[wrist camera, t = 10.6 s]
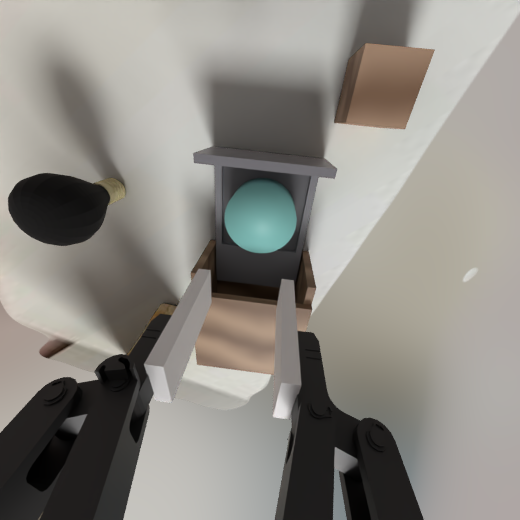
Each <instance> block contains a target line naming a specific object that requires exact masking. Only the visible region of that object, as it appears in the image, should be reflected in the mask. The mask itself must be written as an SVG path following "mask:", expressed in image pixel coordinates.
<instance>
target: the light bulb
mask: <svg viewBox="0 0 520 520" xmlns="http://www.w3.org/2000/svg"><path fill="white" fill-rule="evenodd" d="M125 194H126V192H125V188H124V186H123V184H121V183H120V182H119V181H118V180H116V179H113V178H108V179H105V180H102V181H99V182H96V183H93V184H92V183H89V182H87V181H84V180H81V179H78V178H75V177H71V176H65V175H58V174H51V173H43V174H38V175H35V176H32V177H29V178H26V179H23V180H21V181H20V182H18V183H17V184H16V185H15V187H14V188H13V190H12V192H11V193H10V195H9V197H8V206H9V212H10V214H11V216H12V218H13V220H14V222H15V223H16V224H17V225H18V227H19V228H20V229H21V230H22V231H24V232H25V233H26V234H28V235H29V236H30V237H32V238H34V239H36V240H39V241H41V242H43V243H47V244H52V245H59V246H67V245H72V244H76V243H80V242H83V241H86V240H88V239H89V238H90V237H92V236H93V235H94V233H95V232H96V231H97V230H98V229H99V228H100V227H101V225H102V223H103V221H104V218H105V214H106V210H107V206H108V205H110V204H112V203H113V202H116V201H118V200H120V199H122V198H124V197H125Z"/></svg>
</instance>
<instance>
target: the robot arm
mask: <svg viewBox="0 0 520 520" xmlns="http://www.w3.org/2000/svg"><path fill="white" fill-rule="evenodd" d="M211 302H212V300H211V271H210V270H206V269H198V271H197V272H196V274H195V276H194V278H193V279H192V281H191V283H190V285H189V286H188V288H187V290H186V292H185V293H184V295H183V297H182V299H181V300H180V302H179V304H178V306H177V307H176V309H175V311H174V313H173V314H172V315H167V314H159V315H158V316H156V317H155V318H154V319H153V320H151V322H150V323H149V325H148V326H147V328H146V330H145V331H144V333H143V334H142V336H141V338H140V339H139V340H138V342H137V343H136V345H135V346H134V348H133V349H132V351H131V352H130V354H129V355H123V354H119V355H115V356H112V357H110V358H108V359H106V360H105V361H103V362H102V363H101V364H100V365H99V366H98V367H97V369H96V370H95V371H94V372H95V374H96V376H97V377H98V379H99V380H94V381H88V382H82V383H77V382H76V380H75V379H73V378H71V377H63V378H60V379H57V380H54V381H52V382H51V383H49V384H47V385H45V386H44V387H43V388H42V389H41V390H40V391H38V392H37V394H36V395H35V396H34V397H33V398H32V399H31V400H30V401H29V402H28V403H27V405H26V406H25V407H24V408H23V409H22V410H21V411H20V412H19V413H18V414H17V415H16V417H15V418H14V419H13V420H12V421H11V422H10V423H9V424H8V425H7V426H6V427H5V428H4V429H3V431H2V432H1V433H0V520H38V519H39V517H40V516H41V518H40V520H123V518H124V513H125V510H126V505H127V501H128V497H129V493H130V489H131V485H132V481H133V476H134V473H135V469H136V465H137V460H138V456H139V452H140V448H141V444H142V440H143V436H144V432H145V428H146V423H147V420H148V415H149V403H150V401H151V398H152V396H153V395H154V398H155V400H156V401H162V402H169V403H172V401H173V399H174V397H175V394H176V391H177V389H178V386H179V384H180V381H181V379H182V376H183V374H184V371H185V369H186V366H187V363H188V361H189V358H190V356H191V353H192V351H193V348H194V346H195V343H196V341H197V338H198V335H199V333H200V330H201V328H202V325H203V323H204V320H205V318H206V315H207V313H208V310H209V308H210V305H211ZM273 417H277V418H285V419H290V417H292V428H291V431H290V434H289V437H288V439H287V440H289V442H288V447H287V453H286V458H285V464H284V470H283V476H282V481H281V487H280V492H279V498H278V504H277V510H276V515H275V520H333V492H334V468H335V469H337V470H339V475H340V481H341V487H342V492H343V499H344V504H345V511H346V516H347V520H423V516H422V514H421V511H420V508H419V505H418V502H417V500H416V497H415V494H414V491H413V489H412V486H411V484H410V481H409V478H408V475H407V472H406V470H405V467H404V464H403V461H402V459H401V456H400V453H399V450H398V447H397V445H396V442H395V440H394V438H393V436H392V434H391V432H390V431H389V430H388V429H387V428H386V426H385V425H383V424H382V423H381V422H379V421H378V420H375V419H372V418H364V419H363V420H361V421H360V420H358V419H356V418H354V417H352V416H350V415H348V414H346V413H344V412H342V411H341V410H339V409H338V408H336V406H335V405H334V404H333V403H332V401H331V400H330V398H329V396H328V392H327V388H326V382H325V376H324V370H323V364H322V358H321V353H320V346H319V341H318V340H317V338H316V336H315V335H314V333H311V332H304V331H297V318H296V305H295V291H294V280H287V279H282V280H281V285H280V291H279V297H278V302H277V308H276V329H275V361H274V393H273ZM42 512H43V513H42ZM41 514H42V515H41Z"/></svg>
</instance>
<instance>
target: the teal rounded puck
mask: <svg viewBox="0 0 520 520" xmlns="http://www.w3.org/2000/svg"><path fill="white" fill-rule="evenodd" d="M224 219H225V226H226V229H227V232H228V234H229V236H230V237H231V238H232V240H233V241H234V242H235V243H236V244H237V245H238V246H240V247H241V248H243V249H245V250H247V251H250V252H254V253H269V252H273V251H276V250H278V249H280V248H282V247H283V246H284V245H286V244H287V243H288V242H289V240H290V239H291V238H292V236H293V234H294V231H295V228H296V222H297V218H296V211H295V205H294V201H293V198H292V196H291V194H290V192H289V191H288V190H287V189H286V188H285V187H284V186H283V185H282V184H281V183H279V182H277V181H275V180H272V179H268V178H256V179H252V180H249V181H247V182H245V183H244V184H242V185H241V186H240V187H239V188H238V189H237V191H236V192H235V193H234V195H233V196H232V198H231V199H230V201H229V203H228V204H227V207H226V210H225V218H224Z"/></svg>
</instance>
